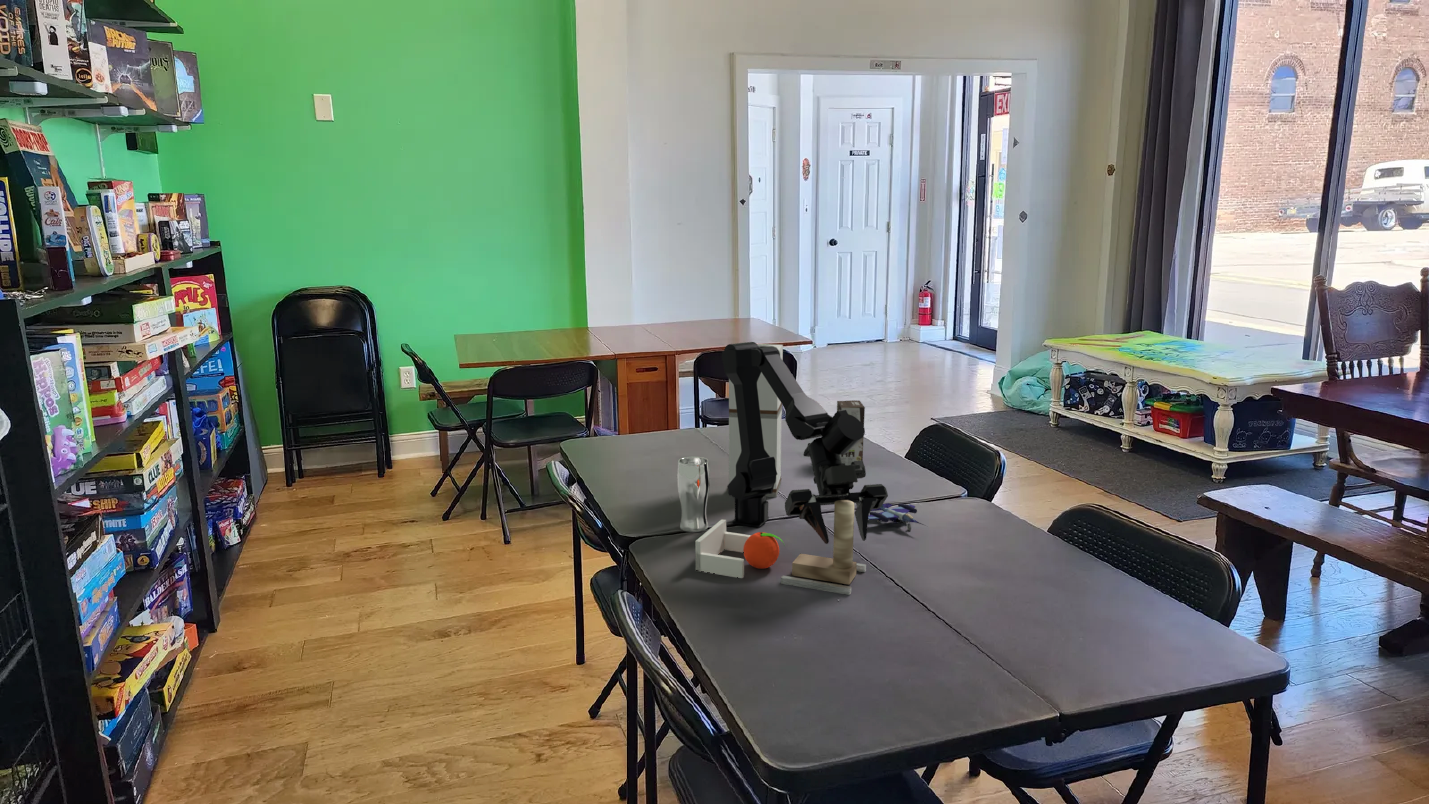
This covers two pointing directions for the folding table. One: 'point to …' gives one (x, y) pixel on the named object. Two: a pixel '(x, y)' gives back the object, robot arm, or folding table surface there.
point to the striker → (842, 561)
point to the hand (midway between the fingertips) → (846, 541)
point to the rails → (821, 583)
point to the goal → (716, 543)
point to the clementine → (761, 550)
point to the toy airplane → (894, 514)
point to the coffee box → (858, 411)
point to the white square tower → (769, 421)
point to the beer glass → (693, 492)
